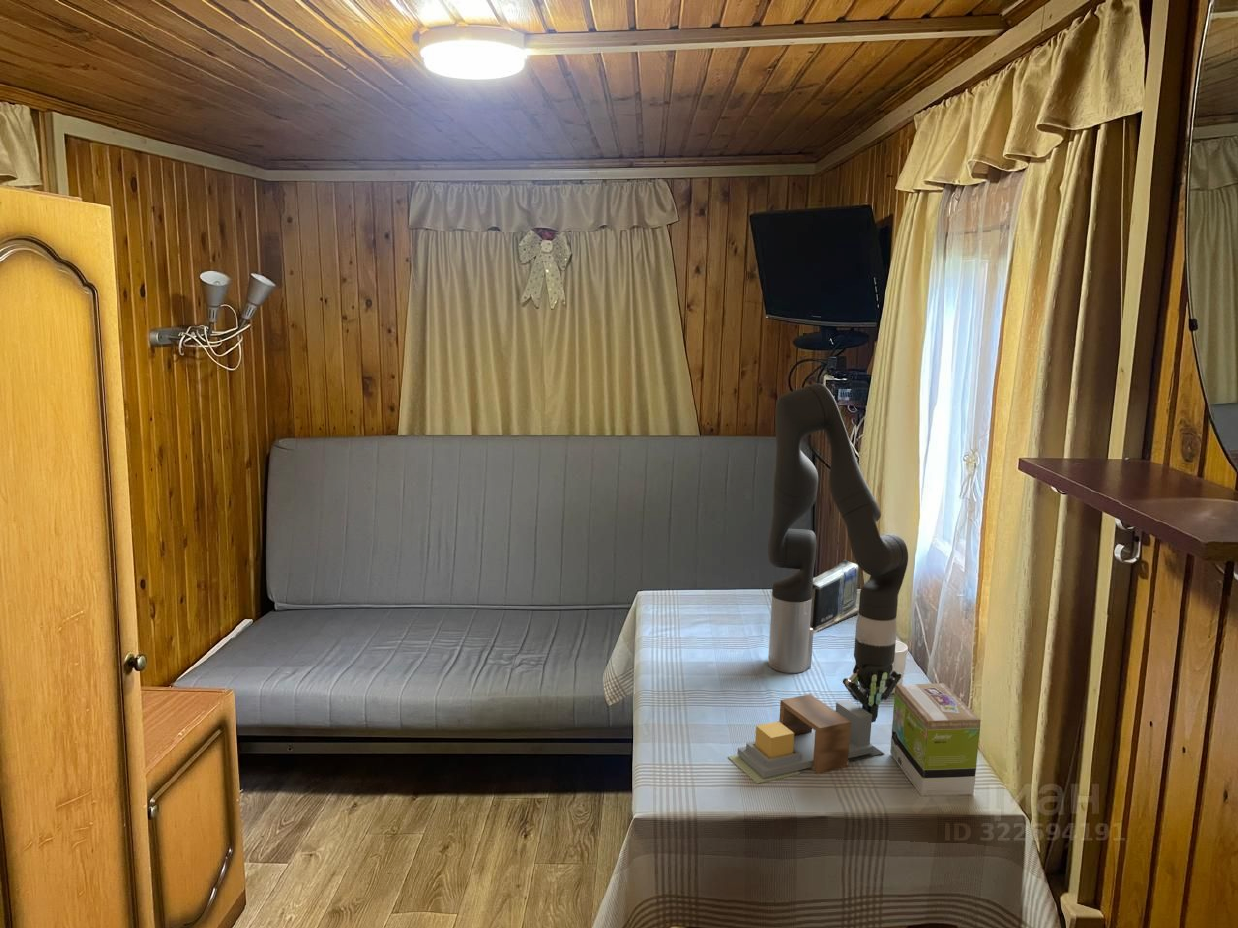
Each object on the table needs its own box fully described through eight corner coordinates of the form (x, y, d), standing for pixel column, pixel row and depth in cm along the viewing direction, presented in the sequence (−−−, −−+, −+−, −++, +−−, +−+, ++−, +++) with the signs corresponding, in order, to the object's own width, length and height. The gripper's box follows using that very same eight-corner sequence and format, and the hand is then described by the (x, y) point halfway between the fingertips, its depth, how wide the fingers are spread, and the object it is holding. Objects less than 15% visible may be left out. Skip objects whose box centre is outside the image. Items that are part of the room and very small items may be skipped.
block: (777, 745, 168) (778, 721, 167) (792, 758, 163) (794, 733, 163) (754, 750, 166) (756, 725, 165) (769, 763, 161) (771, 737, 161)
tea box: (887, 754, 169) (893, 681, 167) (938, 753, 170) (945, 681, 168) (920, 797, 155) (927, 718, 152) (975, 796, 156) (983, 717, 153)
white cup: (906, 683, 201) (909, 642, 199) (901, 697, 194) (905, 654, 192) (870, 677, 204) (874, 636, 203) (864, 690, 197) (868, 647, 196)
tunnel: (807, 736, 176) (810, 694, 174) (847, 766, 164) (851, 721, 163) (778, 742, 173) (780, 699, 171) (816, 773, 162) (819, 728, 160)
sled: (842, 731, 177) (845, 697, 176) (872, 752, 169) (875, 717, 167) (737, 754, 167) (739, 718, 166) (763, 777, 159) (765, 740, 158)
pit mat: (850, 730, 178) (850, 729, 178) (883, 754, 169) (883, 753, 169) (817, 737, 175) (817, 736, 175) (850, 761, 166) (850, 760, 166)
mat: (768, 748, 170) (768, 747, 170) (799, 773, 161) (799, 772, 161) (728, 757, 167) (728, 756, 167) (757, 783, 158) (757, 782, 158)
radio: (811, 634, 230) (815, 579, 227) (786, 625, 237) (789, 571, 234) (865, 616, 245) (869, 564, 242) (840, 607, 251) (843, 557, 248)
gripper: (889, 625, 176) (882, 707, 179) (835, 634, 171) (829, 718, 174) (916, 639, 169) (908, 723, 172) (861, 648, 164) (854, 735, 167)
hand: (868, 720), depth 173 cm, fingers closed
